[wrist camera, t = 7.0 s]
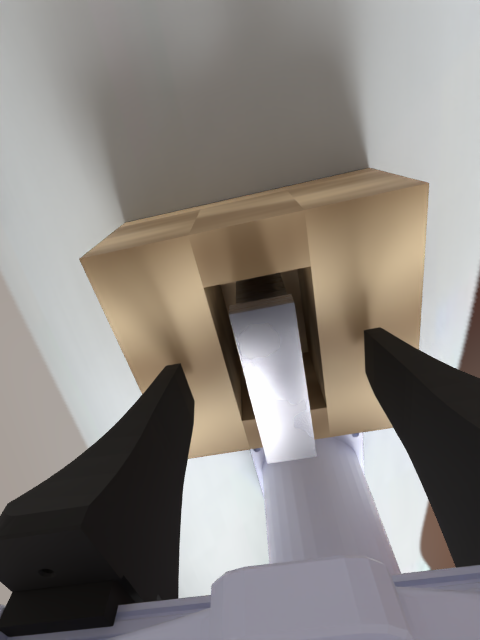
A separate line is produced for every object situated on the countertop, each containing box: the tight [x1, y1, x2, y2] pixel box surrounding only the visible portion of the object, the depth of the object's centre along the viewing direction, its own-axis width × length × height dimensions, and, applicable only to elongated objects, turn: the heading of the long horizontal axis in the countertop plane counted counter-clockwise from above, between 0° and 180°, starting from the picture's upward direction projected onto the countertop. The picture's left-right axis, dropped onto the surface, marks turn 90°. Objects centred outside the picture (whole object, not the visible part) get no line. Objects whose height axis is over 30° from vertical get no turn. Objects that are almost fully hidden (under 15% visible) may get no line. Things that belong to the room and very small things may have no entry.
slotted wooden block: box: [79, 168, 429, 459], centre depth 16 cm, size 11×12×6 cm
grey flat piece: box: [229, 273, 317, 464], centre depth 15 cm, size 7×2×7 cm, turn 12°
